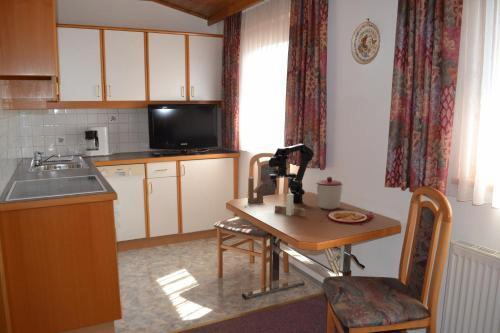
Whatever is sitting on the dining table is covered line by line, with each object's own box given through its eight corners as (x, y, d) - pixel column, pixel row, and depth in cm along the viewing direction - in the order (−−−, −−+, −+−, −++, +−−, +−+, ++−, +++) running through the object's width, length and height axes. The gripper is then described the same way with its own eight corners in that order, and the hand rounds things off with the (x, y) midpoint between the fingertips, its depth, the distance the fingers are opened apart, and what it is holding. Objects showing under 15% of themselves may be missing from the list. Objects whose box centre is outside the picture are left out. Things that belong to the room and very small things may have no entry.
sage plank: (288, 213, 258) (288, 193, 256) (293, 214, 256) (293, 193, 255) (286, 215, 254) (286, 194, 252) (290, 215, 253) (290, 195, 251)
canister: (319, 203, 284) (319, 173, 281) (345, 206, 276) (346, 175, 273) (311, 209, 268) (312, 177, 265) (339, 212, 260) (340, 179, 257)
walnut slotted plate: (274, 212, 259) (274, 206, 259) (275, 212, 261) (275, 205, 260) (304, 216, 250) (304, 209, 249) (305, 216, 251) (305, 209, 251)
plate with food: (331, 213, 262) (331, 207, 261) (373, 216, 250) (373, 211, 250) (320, 223, 240) (320, 217, 240) (365, 228, 228) (365, 221, 228)
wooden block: (263, 202, 289) (263, 177, 286) (249, 203, 284) (249, 178, 282) (261, 200, 292) (261, 176, 290) (247, 202, 288) (247, 177, 285)
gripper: (290, 163, 283) (290, 185, 286) (265, 165, 278) (265, 187, 280) (297, 166, 273) (296, 188, 275) (270, 167, 267) (270, 190, 270)
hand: (282, 188), depth 275 cm, fingers open, 9 cm apart
